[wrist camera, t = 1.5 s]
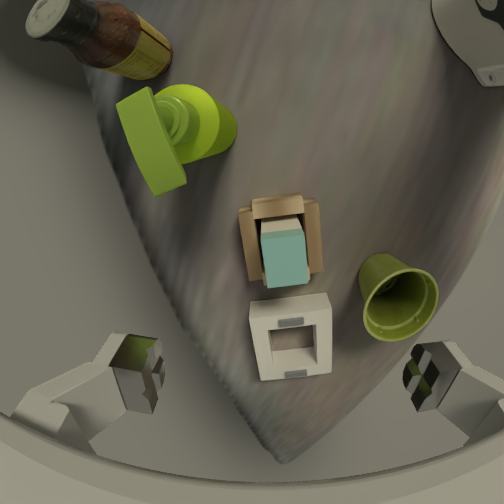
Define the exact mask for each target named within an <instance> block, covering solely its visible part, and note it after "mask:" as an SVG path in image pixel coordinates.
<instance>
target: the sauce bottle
mask: <svg viewBox="0 0 504 504" xmlns="http://www.w3.org/2000/svg"><path fill="white" fill-rule="evenodd" d="M26 31H27V33H28V36H29V37H31V38H33V39H36V40H40V41H54V42H58V43H61V44H62V45H65V46H66V47H67V48H68V49H69V50H70V51H71V52H72V53H73V54H74V55H75V57H76V58H77V59H78V60H79V61H80V62H81V63H83V64H85V65H86V66H89V67H93V68H97V69H101V70H105V71H109V72H112V73H116V74H119V75H122V76H125V77H129V78H132V79H135V80H149V79H152V78H154V77H157V76H158V75H160V74H161V73H163V72H164V71H166V69H167V68H168V66H169V64H170V62H171V59H172V54H173V50H172V47H171V45H170V44H169V42H168V40H167V39H166V37H165V36H164V35H162V34H161V33H160V32H159V31H157V30H156V29H155V28H153V27H152V26H151V25H150V24H148V23H147V22H146V21H145V20H143V19H142V18H141V17H140V16H138V15H137V14H136V13H134V12H133V11H131V10H128V9H127V8H125V7H124V6H123V5H120V4H119V3H109V2H102V1H98V2H94V3H93V2H89V1H87V0H38V1H37V2H36V4H35V5H34V6H33V8H32V10H31V11H30V13H29V15H28V18H27V21H26Z"/></svg>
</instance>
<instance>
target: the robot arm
mask: <svg viewBox="0 0 504 504" xmlns="http://www.w3.org/2000/svg"><path fill="white" fill-rule="evenodd" d="M432 11H433V15H434V19H435V21H436V24H437V26H438V28H439V30H440V32H441V34H442V36H443V37H444V39H445V40H446V42H447V43H448V45H449V46H450V47H451V49H452V50H453V51H454V52H455V53H456V54H457V55H458V56H459V57H460V58H461V59H462V60H463V61H464V62H465V63H466V64H467V65H468V66H469V67H470V68H471V69H472V71H473V73H474V75H475V76H476V78H477V79H478V81H479V82H480V84H481V85H482V86H484V87H495V86H504V0H432ZM489 78H490V79H489ZM161 351H162V346H161V341H160V340H159V339H158V338H152V337H145V336H139V335H133V334H126V333H121V332H113V333H111V335H110V336H109V338H108V339H107V341H106V342H105V344H104V345H103V347H102V348H101V350H100V351H99V353H98V354H97V356H96V357H95V359H94V360H93V362H92V363H90V362H87V363H84V364H83V365H80V366H78V367H76V368H74V369H72V370H70V371H68V372H66V373H64V374H62V375H60V376H58V377H55V378H53V379H51V380H49V381H47V382H45V383H43V384H41V385H38V386H36V387H34V388H32V389H30V390H29V391H28V392H27V394H26V395H25V396H24V398H23V399H22V401H21V402H20V403H19V405H18V406H17V408H16V409H15V411H14V412H13V414H12V415H11V416H10V417H8V416H7V415H5V414H3V413H1V412H0V504H504V380H502V379H500V378H498V377H496V376H494V375H493V374H491V373H489V372H487V371H485V370H483V369H481V368H479V367H477V366H473V365H472V364H471V363H470V361H469V360H468V359H467V358H466V356H465V355H464V354H463V352H461V350H460V349H459V347H458V346H457V345H456V344H455V343H454V341H452V340H445V341H439V342H432V343H423V344H416V345H415V346H414V347H413V349H412V351H411V357H412V359H411V360H410V361H409V362H408V363H406V366H405V368H404V371H403V383H404V386H405V388H406V390H408V391H409V392H411V393H412V396H411V400H412V402H413V404H414V406H415V408H416V411H417V412H422V411H427V410H432V409H437V410H438V411H439V412H440V413H441V414H442V415H444V416H445V417H446V418H447V419H448V420H450V421H451V422H452V423H453V424H455V425H456V426H457V427H458V428H459V429H460V430H462V431H463V432H464V433H465V434H466V435H468V436H469V437H470V438H469V439H468V441H467V442H466V443H465V444H464V446H463V447H461V448H459V449H456V450H453V451H450V452H447V453H445V454H442V455H439V456H436V457H432V458H429V459H426V460H423V461H419V462H416V463H412V464H408V465H405V466H401V467H396V468H392V469H388V470H383V471H378V472H373V473H367V474H362V475H355V476H349V477H341V478H333V479H324V480H313V481H297V482H241V481H225V480H213V479H205V478H197V477H189V476H182V475H176V474H171V473H165V472H160V471H155V470H150V469H145V468H141V467H137V466H133V465H129V464H125V463H122V462H118V461H115V460H111V459H108V458H104V457H101V456H98V455H96V453H95V451H94V450H93V449H92V447H91V445H90V444H89V442H88V441H89V440H90V439H92V438H93V437H94V436H95V435H97V434H98V433H99V432H101V431H102V430H103V429H104V428H106V427H107V426H108V425H110V424H111V423H112V422H113V421H115V420H116V419H117V418H119V417H120V416H121V415H122V414H124V413H125V412H126V411H127V410H131V411H137V412H142V413H149V414H153V412H154V409H155V406H156V403H157V400H158V396H157V391H158V390H160V389H161V388H162V385H163V382H164V376H165V364H164V360H163V359H162V358H161V357H160V353H161Z"/></svg>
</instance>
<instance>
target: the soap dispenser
mask: <svg viewBox="0 0 504 504" xmlns="http://www.w3.org/2000/svg"><path fill="white" fill-rule="evenodd" d="M116 108H117V111H118V114H119V118H120V121H121V124H122V127H123V130H124V133H125V135H126V138H127V141H128V144H129V146H130V149H131V151H132V154H133V156H134V158H135V161H136V163H137V165H138V167H139V169H140V171H141V173H142V175H143V177H144V179H145V181H146V183H147V184H148V186H149V188H150V190H151V191H152V193H153V195H154V196H155V197H157V196H159V195H162V194H164V193H166V192H168V191H171V190H173V189H175V188H177V187H180V186H182V185H184V184H186V183H187V179H186V174H185V171H184V169H183V167H182V165H181V164H186V163H190V162H193V161H196V160H199V159H202V158H206V157H209V156H212V155H216V154H219V153H221V152H223V151H225V150H226V149H228V148H229V147H230V146H231V145H232V143H233V142H234V140H235V137H236V134H237V124H236V120H235V118H234V116H233V115H232V113H231V112H230V111H229V110H227V109H226V108H225V107H224V106H223V105H221V104H220V103H219V102H218V101H216V100H215V99H214V98H213V97H211V96H210V95H209V94H208V93H206V92H205V91H204V90H202V89H200V88H198V87H195V86H192V85H186V84H179V85H173V86H170V87H167V88H165V89H163V90H161V91H160V92H158V93H157V94H156V95H153V92H152V89H151V88H150V87H145V88H143V89H141V90H139V91H137V92H136V93H134V94H132V95H130V96H129V97H127V98H125V99H123V100H122V101H120V102H118V103H117V104H116Z"/></svg>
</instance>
